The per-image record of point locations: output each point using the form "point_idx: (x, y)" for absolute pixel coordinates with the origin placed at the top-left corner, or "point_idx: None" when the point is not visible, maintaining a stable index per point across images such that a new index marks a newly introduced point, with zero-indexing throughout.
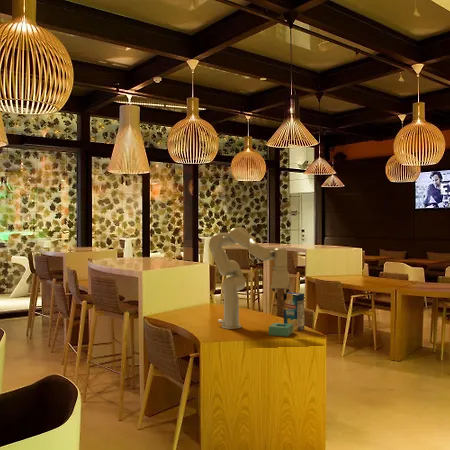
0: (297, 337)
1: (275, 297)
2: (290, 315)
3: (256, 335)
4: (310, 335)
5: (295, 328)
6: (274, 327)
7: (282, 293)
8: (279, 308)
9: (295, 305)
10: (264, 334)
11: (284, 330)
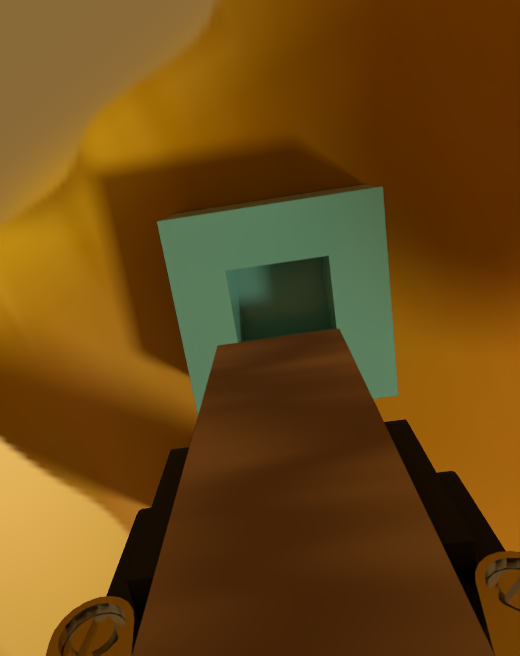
0: (84, 233)
1: (451, 475)
2: None
3: (472, 99)
4: (29, 359)
5: None
6: (312, 197)
7: (192, 556)
8: (291, 338)
9: None
10: (412, 184)
11: (197, 213)
